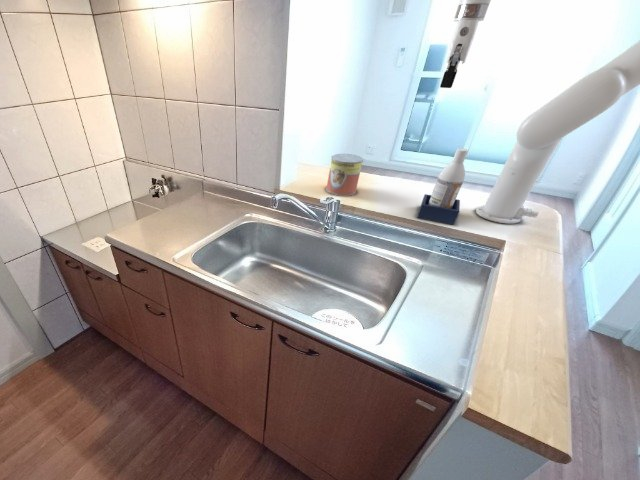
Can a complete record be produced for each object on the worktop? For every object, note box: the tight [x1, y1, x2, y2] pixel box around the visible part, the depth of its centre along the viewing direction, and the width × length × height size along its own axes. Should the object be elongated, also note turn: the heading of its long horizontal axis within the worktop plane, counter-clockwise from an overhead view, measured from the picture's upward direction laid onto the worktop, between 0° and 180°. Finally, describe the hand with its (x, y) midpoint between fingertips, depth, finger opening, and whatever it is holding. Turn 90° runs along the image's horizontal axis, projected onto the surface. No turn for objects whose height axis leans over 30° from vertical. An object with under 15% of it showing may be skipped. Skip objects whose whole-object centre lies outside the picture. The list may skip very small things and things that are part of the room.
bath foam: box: [428, 148, 469, 209], centre depth 101 cm, size 7×7×20 cm
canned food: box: [325, 153, 364, 197], centre depth 122 cm, size 11×11×12 cm
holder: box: [416, 193, 461, 226], centre depth 106 cm, size 11×11×4 cm
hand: (446, 86), depth 102 cm, fingers open, 9 cm apart
